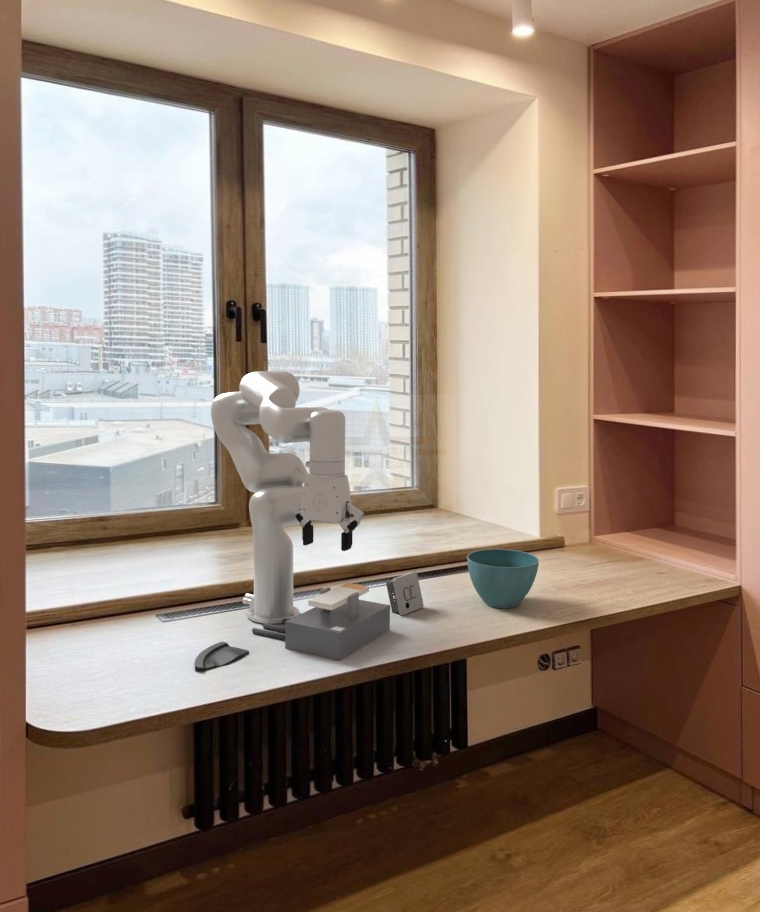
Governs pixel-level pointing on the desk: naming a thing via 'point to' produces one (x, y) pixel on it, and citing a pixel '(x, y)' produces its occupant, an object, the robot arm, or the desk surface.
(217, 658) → the fan shaped piece
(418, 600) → the electrical switch
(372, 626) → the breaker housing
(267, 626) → the three grey prongs
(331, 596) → the breaker rocker
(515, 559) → the plant pot
